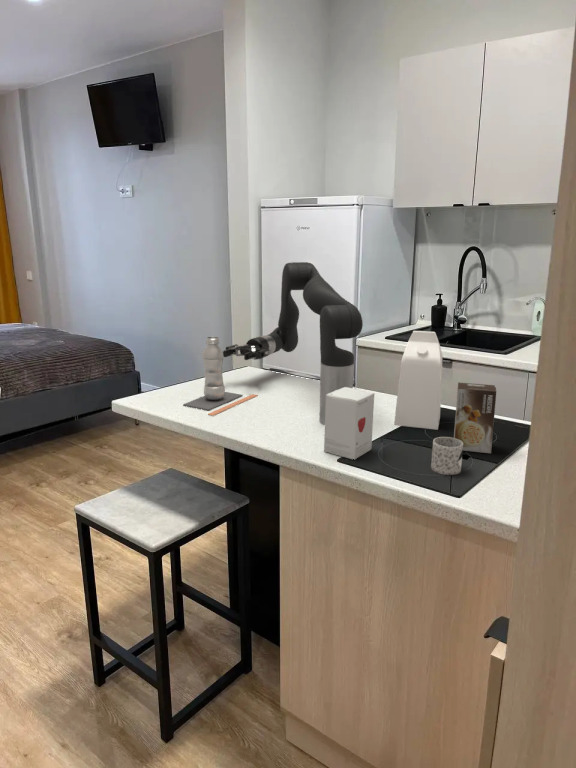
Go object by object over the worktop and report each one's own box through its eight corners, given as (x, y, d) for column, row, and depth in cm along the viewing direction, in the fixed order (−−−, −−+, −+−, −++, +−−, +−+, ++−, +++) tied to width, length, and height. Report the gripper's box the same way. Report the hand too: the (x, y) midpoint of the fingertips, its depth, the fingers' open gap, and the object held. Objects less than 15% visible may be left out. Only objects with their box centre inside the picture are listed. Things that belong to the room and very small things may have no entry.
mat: (242, 396, 183) (242, 394, 182) (208, 411, 168) (208, 409, 167) (218, 391, 187) (218, 390, 187) (183, 405, 172) (183, 404, 172)
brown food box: (489, 445, 142) (496, 384, 138) (491, 454, 136) (498, 391, 132) (452, 441, 145) (458, 381, 141) (452, 449, 139) (457, 388, 135)
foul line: (257, 395, 183) (257, 394, 183) (213, 416, 163) (213, 415, 163) (252, 394, 184) (252, 394, 184) (207, 414, 164) (207, 413, 164)
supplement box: (354, 460, 132) (357, 400, 128) (323, 452, 137) (324, 394, 133) (372, 449, 139) (375, 392, 135) (342, 441, 144) (344, 385, 140)
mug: (464, 475, 125) (467, 447, 123) (435, 475, 125) (437, 447, 123) (451, 457, 134) (453, 431, 133) (424, 457, 134) (426, 431, 133)
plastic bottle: (223, 402, 174) (222, 339, 169) (202, 402, 174) (200, 339, 169) (226, 396, 180) (225, 335, 175) (205, 396, 180) (203, 335, 175)
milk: (440, 416, 164) (447, 329, 157) (437, 429, 153) (445, 336, 146) (398, 412, 167) (404, 327, 160) (394, 424, 157) (399, 334, 150)
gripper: (244, 334, 200) (216, 342, 186) (278, 338, 193) (252, 346, 180) (244, 355, 202) (217, 363, 188) (278, 359, 195) (252, 369, 182)
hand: (234, 355), depth 184 cm, fingers open, 8 cm apart
